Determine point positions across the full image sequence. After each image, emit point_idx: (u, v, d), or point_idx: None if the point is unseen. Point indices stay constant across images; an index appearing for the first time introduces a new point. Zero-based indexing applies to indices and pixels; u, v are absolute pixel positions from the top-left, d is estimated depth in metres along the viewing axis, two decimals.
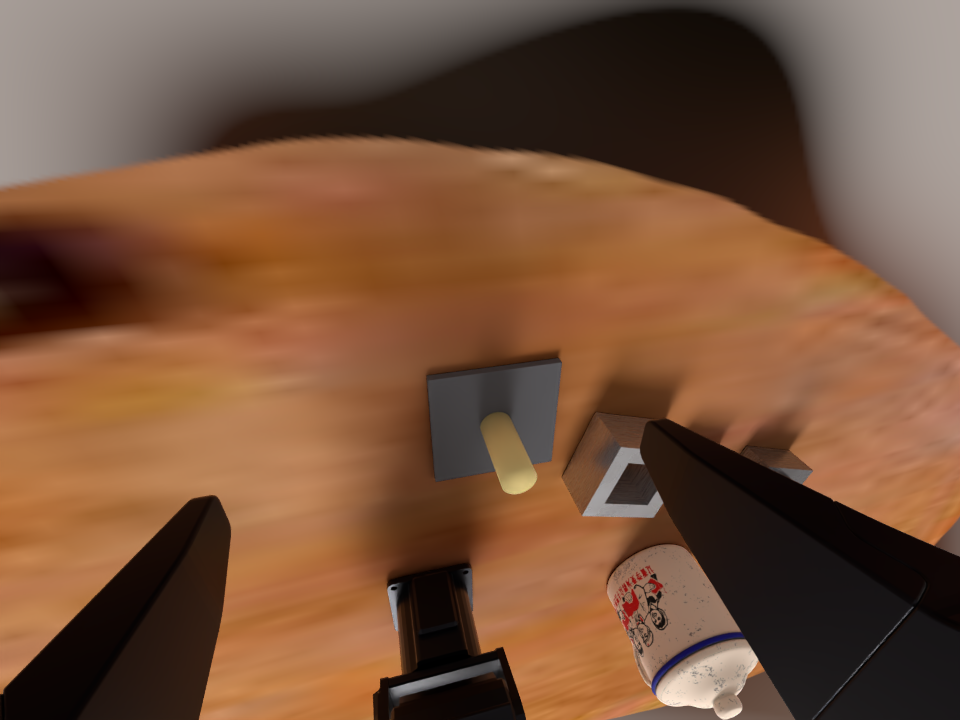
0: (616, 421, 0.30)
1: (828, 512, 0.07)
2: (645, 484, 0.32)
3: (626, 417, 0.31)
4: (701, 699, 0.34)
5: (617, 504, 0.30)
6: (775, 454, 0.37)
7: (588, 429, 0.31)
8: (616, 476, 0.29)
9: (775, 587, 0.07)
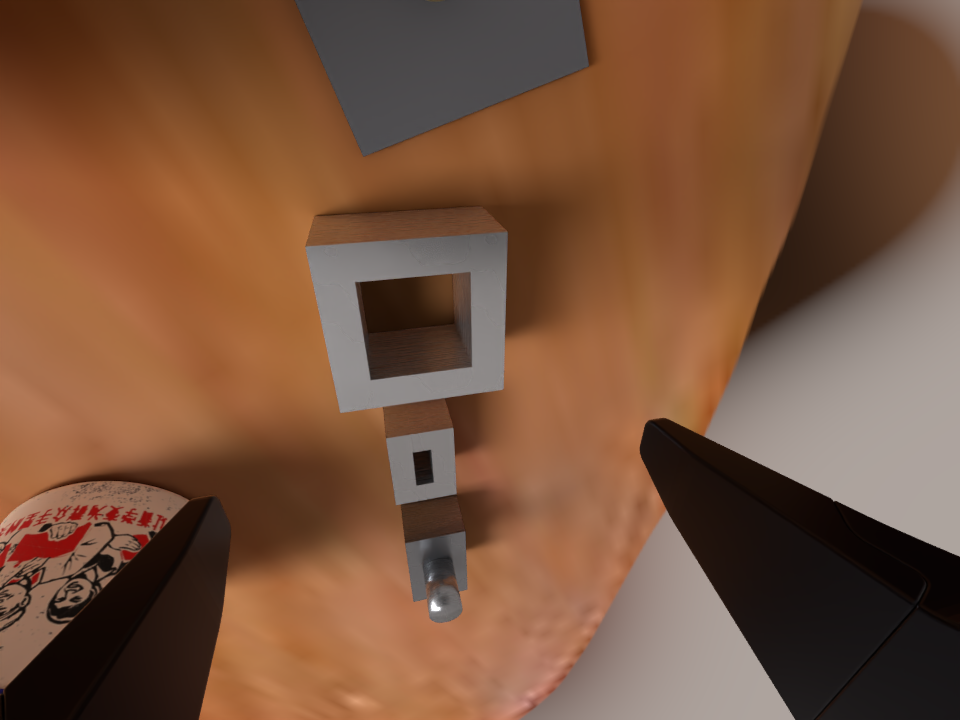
0: None
1: (828, 512, 0.07)
2: (394, 361, 0.17)
3: None
4: None
5: (358, 313, 0.14)
6: None
7: (446, 209, 0.17)
8: (433, 266, 0.14)
9: (775, 587, 0.07)
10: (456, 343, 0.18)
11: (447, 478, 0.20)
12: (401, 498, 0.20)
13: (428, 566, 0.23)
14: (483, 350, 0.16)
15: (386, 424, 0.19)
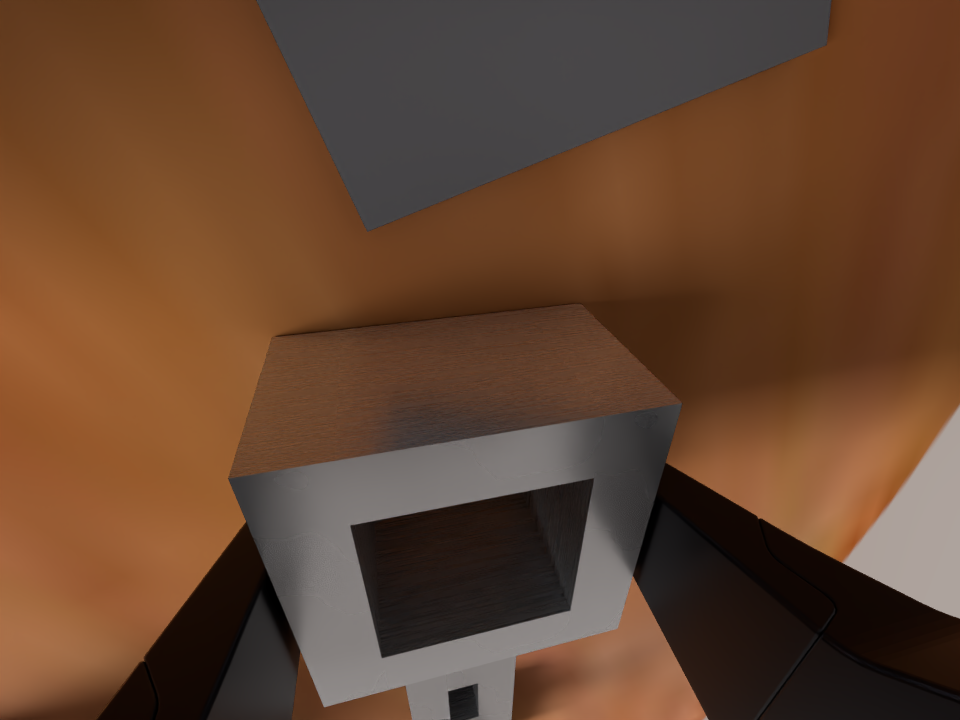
0: None
1: (750, 530, 0.07)
2: (424, 591, 0.09)
3: None
4: None
5: (359, 572, 0.07)
6: None
7: (521, 313, 0.09)
8: (520, 477, 0.06)
9: (699, 607, 0.07)
10: (528, 534, 0.10)
11: (500, 708, 0.13)
12: None
13: None
14: (593, 587, 0.09)
15: None
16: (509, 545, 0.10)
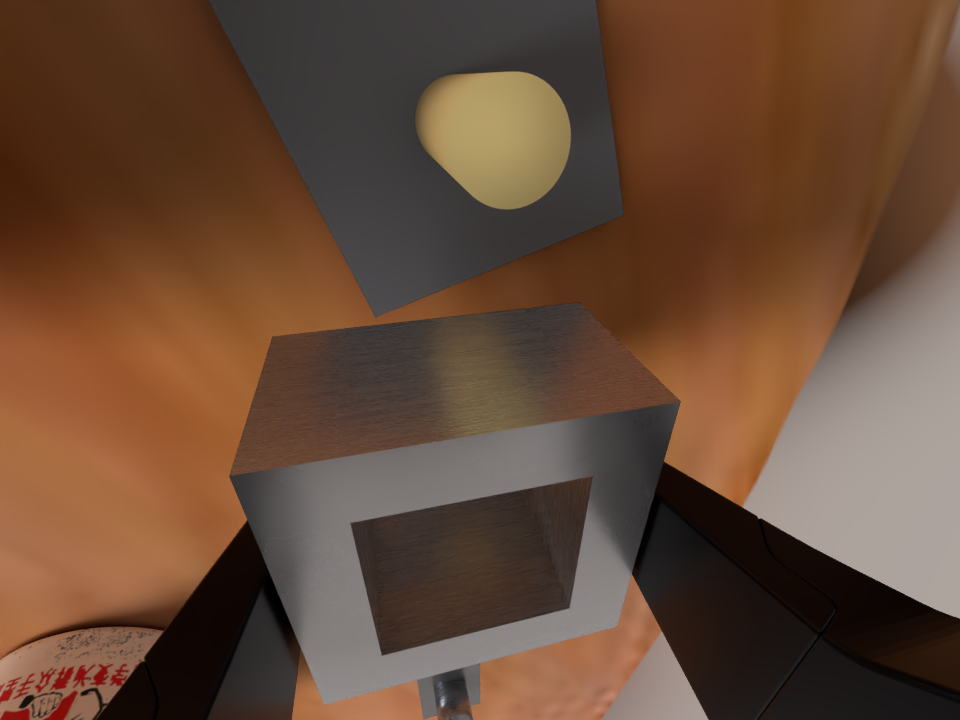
0: None
1: (750, 531, 0.07)
2: (424, 589, 0.09)
3: None
4: None
5: (358, 569, 0.07)
6: None
7: (520, 312, 0.09)
8: (519, 475, 0.07)
9: (699, 607, 0.07)
10: (528, 533, 0.10)
11: None
12: None
13: (440, 690, 0.22)
14: (592, 584, 0.09)
15: None
16: (508, 543, 0.10)
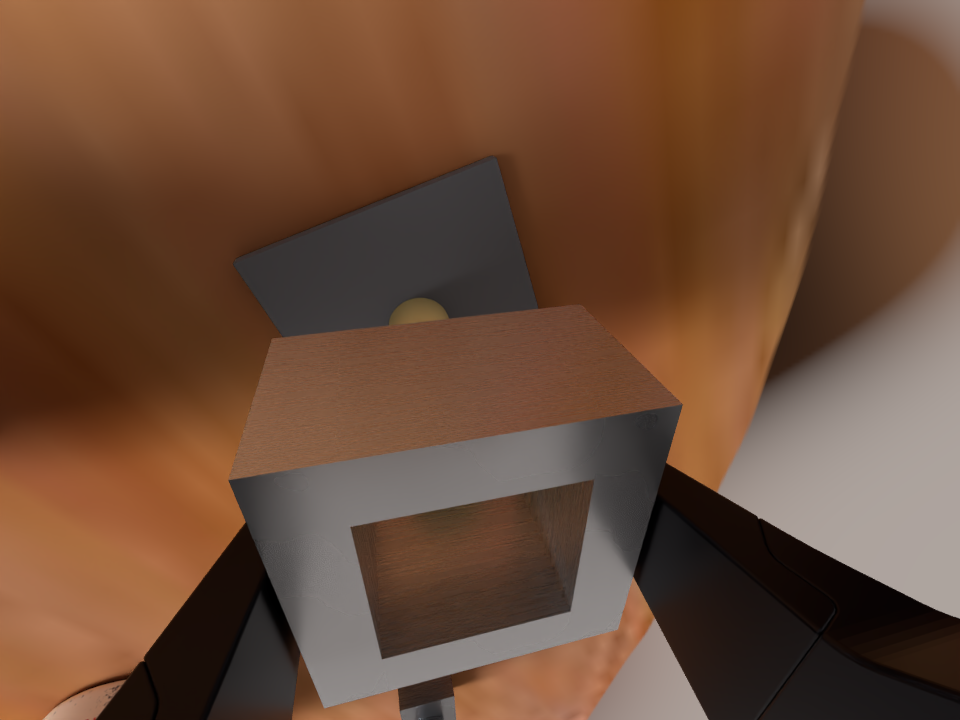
0: None
1: (750, 531, 0.07)
2: (424, 592, 0.09)
3: None
4: None
5: (358, 574, 0.07)
6: None
7: (521, 314, 0.09)
8: (520, 479, 0.06)
9: (699, 608, 0.07)
10: (529, 535, 0.10)
11: None
12: None
13: None
14: (594, 587, 0.09)
15: None
16: (509, 546, 0.10)
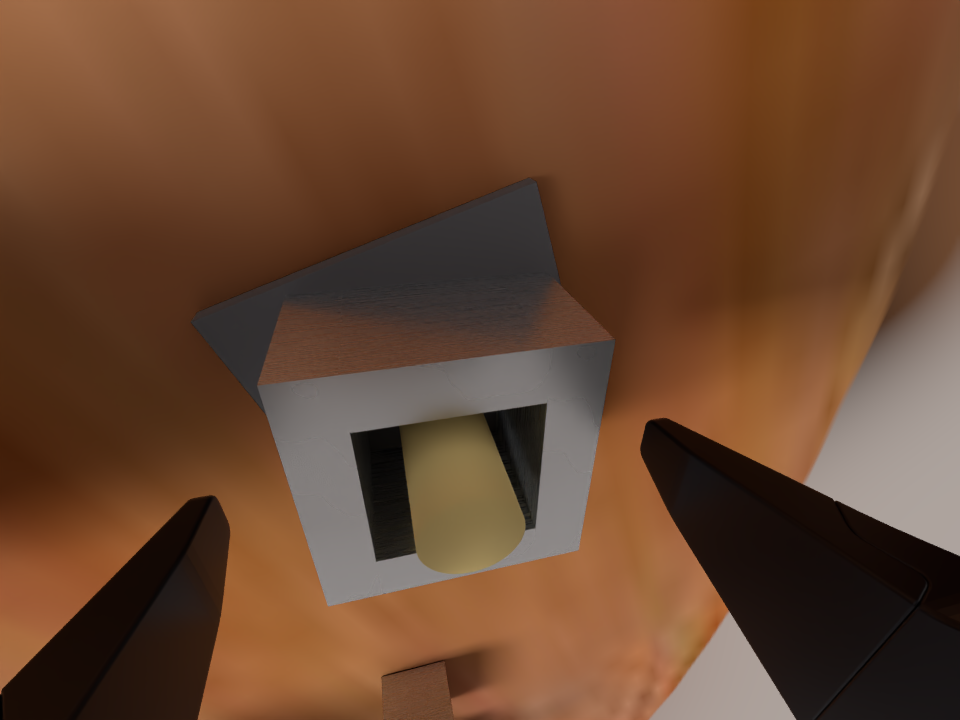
0: None
1: (829, 512, 0.07)
2: None
3: None
4: None
5: (356, 476, 0.08)
6: None
7: (494, 278, 0.11)
8: (486, 399, 0.08)
9: (776, 587, 0.07)
10: None
11: None
12: None
13: None
14: (554, 506, 0.10)
15: (385, 716, 0.19)
16: None
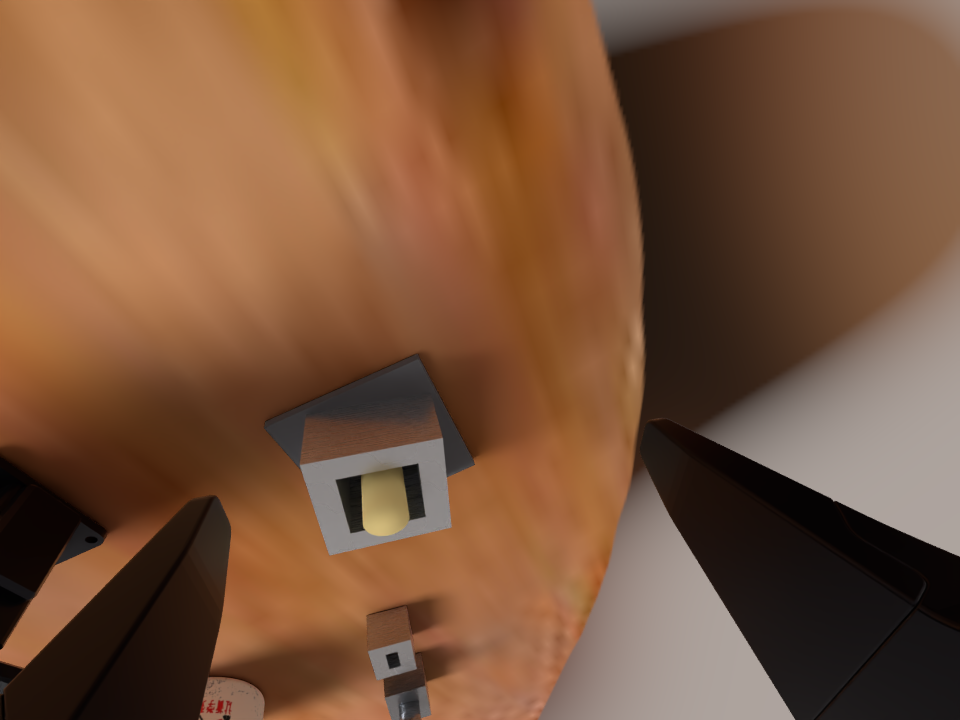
0: None
1: (828, 512, 0.07)
2: None
3: None
4: None
5: (339, 496, 0.20)
6: (425, 678, 0.37)
7: (404, 399, 0.22)
8: (390, 463, 0.20)
9: (775, 587, 0.07)
10: (416, 490, 0.24)
11: (409, 662, 0.32)
12: (380, 676, 0.32)
13: (401, 708, 0.34)
14: (432, 506, 0.22)
15: (368, 637, 0.30)
16: (407, 494, 0.23)
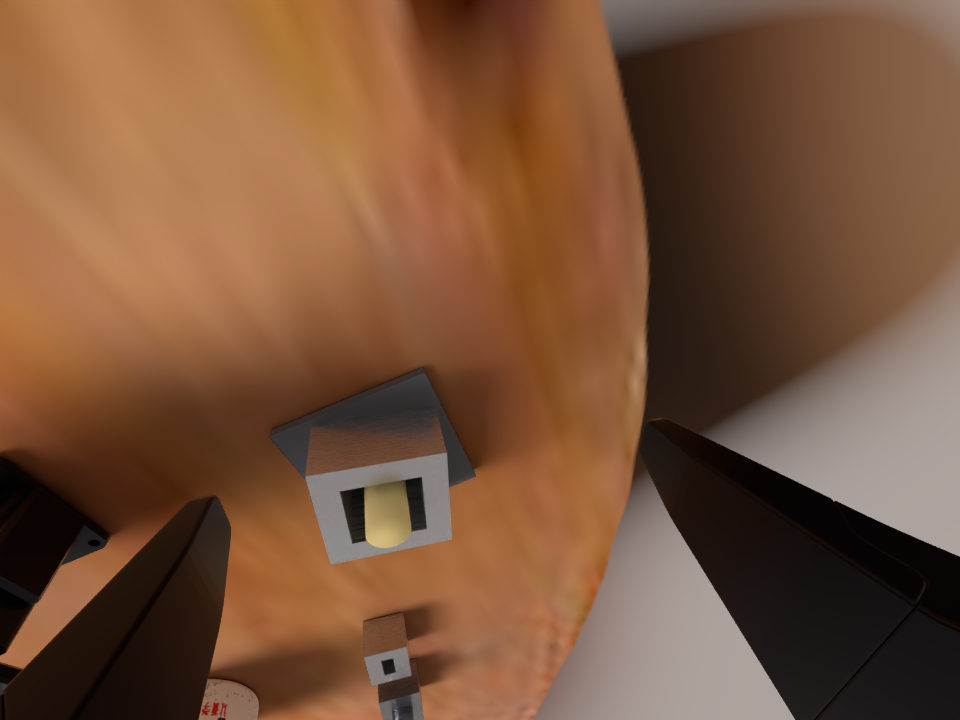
0: None
1: (828, 512, 0.07)
2: None
3: None
4: None
5: (342, 507, 0.20)
6: None
7: (408, 411, 0.23)
8: (394, 476, 0.20)
9: (775, 587, 0.07)
10: (418, 501, 0.24)
11: (404, 669, 0.32)
12: (375, 682, 0.32)
13: (395, 713, 0.34)
14: (434, 518, 0.22)
15: (364, 643, 0.31)
16: (408, 505, 0.24)
